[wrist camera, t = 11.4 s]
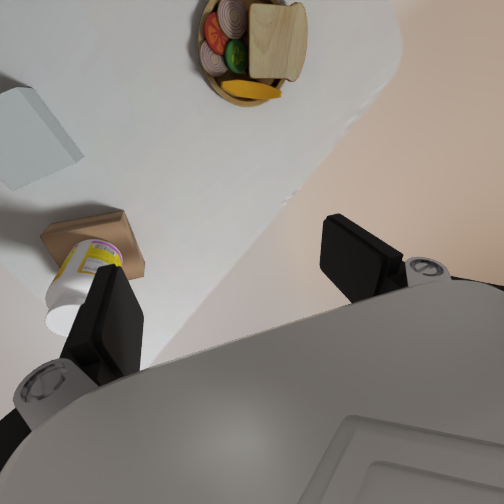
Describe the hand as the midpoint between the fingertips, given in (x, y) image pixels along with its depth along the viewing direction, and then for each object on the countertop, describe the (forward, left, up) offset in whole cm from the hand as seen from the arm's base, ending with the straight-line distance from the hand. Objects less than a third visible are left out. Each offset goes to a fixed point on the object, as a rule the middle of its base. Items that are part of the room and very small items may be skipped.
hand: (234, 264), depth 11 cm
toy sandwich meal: (-11, +11, -31) cm, 35 cm away
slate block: (-4, -18, -30) cm, 35 cm away
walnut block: (+12, -16, -30) cm, 36 cm away
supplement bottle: (+12, -16, -26) cm, 33 cm away
